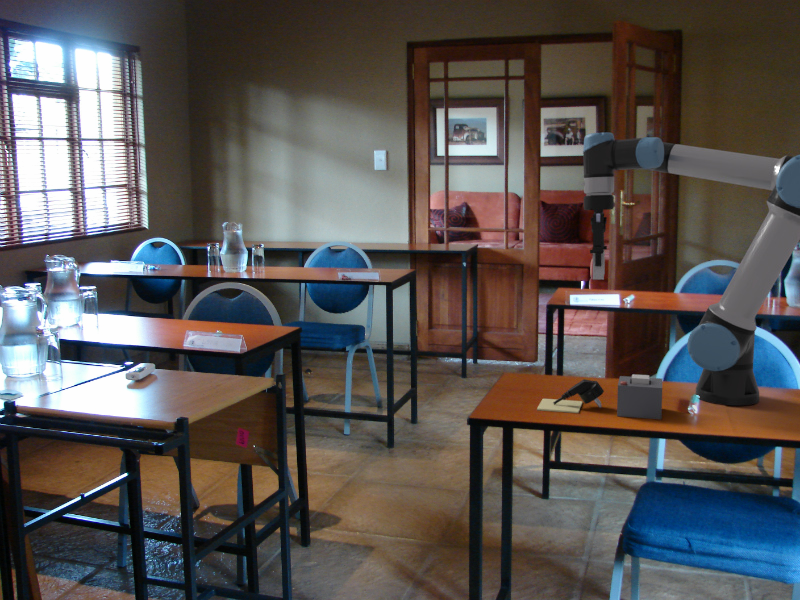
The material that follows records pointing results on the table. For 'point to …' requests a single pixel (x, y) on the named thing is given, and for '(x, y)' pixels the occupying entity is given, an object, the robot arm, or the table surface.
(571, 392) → the power plug
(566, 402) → the pad
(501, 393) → the table surface
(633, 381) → the button
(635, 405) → the switch box
